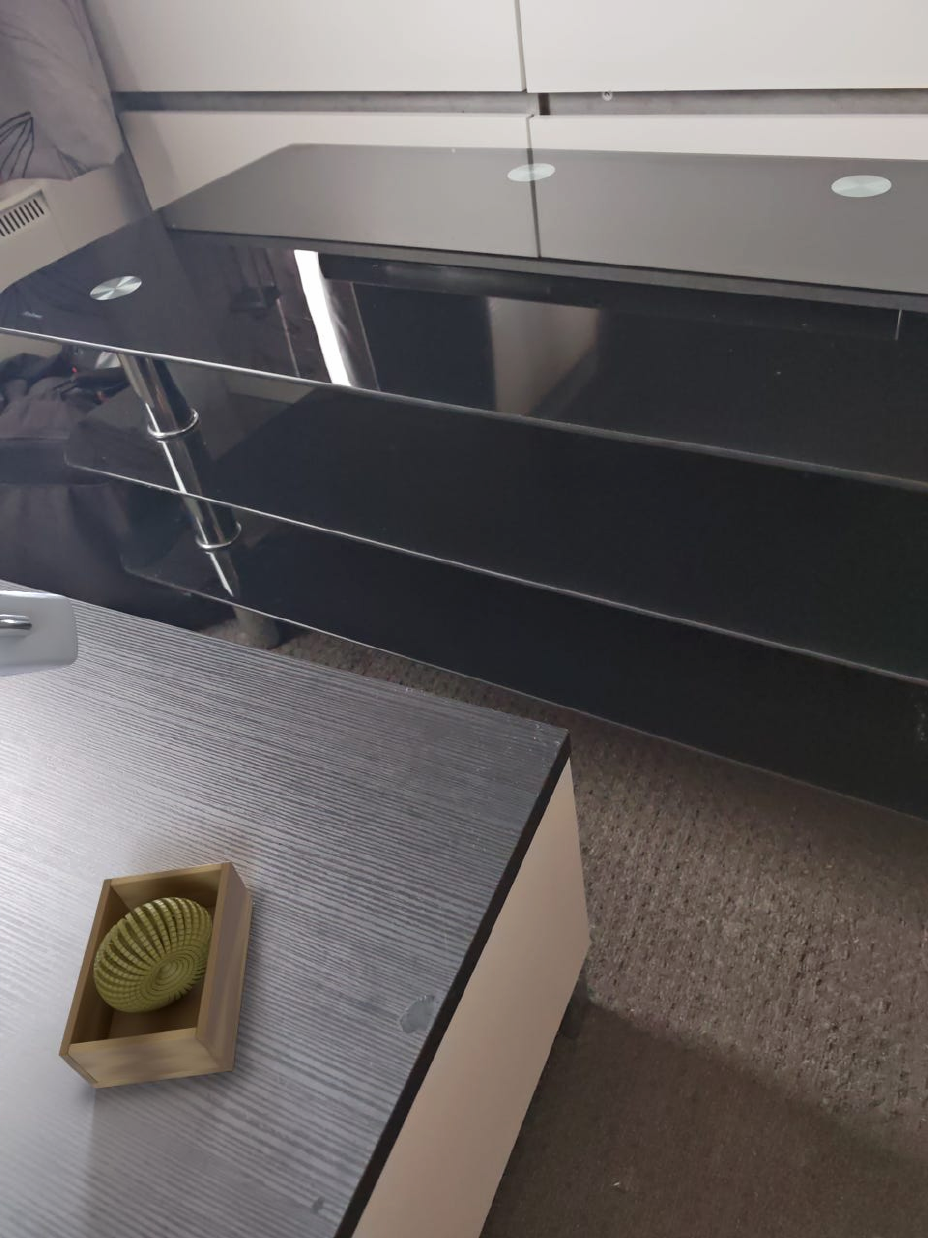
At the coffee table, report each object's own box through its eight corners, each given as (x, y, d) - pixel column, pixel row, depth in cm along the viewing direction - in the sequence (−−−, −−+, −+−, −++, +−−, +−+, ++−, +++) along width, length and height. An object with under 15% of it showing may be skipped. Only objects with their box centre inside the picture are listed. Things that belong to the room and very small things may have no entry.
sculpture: (139, 1046, 60) (87, 989, 55) (114, 1003, 62) (62, 945, 57) (242, 963, 63) (203, 902, 58) (215, 925, 66) (174, 863, 60)
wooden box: (94, 1089, 59) (57, 1055, 56) (133, 917, 68) (103, 879, 65) (233, 1071, 59) (205, 1035, 55) (253, 900, 68) (230, 860, 64)
